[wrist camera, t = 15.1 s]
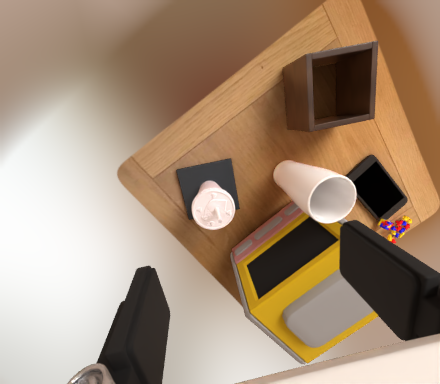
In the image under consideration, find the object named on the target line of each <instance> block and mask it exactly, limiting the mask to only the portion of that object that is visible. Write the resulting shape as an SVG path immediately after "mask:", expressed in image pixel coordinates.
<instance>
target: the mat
mask: <svg viewBox="0 0 440 384" xmlns="http://www.w3.org/2000/svg"><path fill="white" fill-rule="evenodd" d="M176 171H177V175H178V179H179V182H180V186H181V190H182V194H183V198H184V202H185V206H186V209H187V213H188V217H189V220H191V219H194V218H193V215H192V202H193V200H194V198H195V197H196V196H197V194H198V192H199V189H200V186H201V185H202V183H204V182H205V181H214V182H216V183H217V184H218V185H219V186H220V188H221V189H223V190H225V191H226V192H228V193H229V194H230V195H231V197H232V199H233V201H234V204H235V210H237V209H240V208H239V203H238V197H237V191H236V185H235V179H234V173H233V167H232V161H231V158H230V159H225V160H220V161H216V162H211V163H206V164H201V165H196V166H191V167H187V168H182V169H177V170H176Z"/></svg>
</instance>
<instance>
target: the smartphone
mask: <svg viewBox="0 0 440 384" xmlns="http://www.w3.org/2000/svg"><path fill="white" fill-rule="evenodd" d="M346 177H347V178H349V179H350V180H351V181H352V182H353V184H354V185H355V188H356V193H357V196H356V197H357V198H358V199H359V200H360V201H361V203H362V204H363V205H364V206H365V207H366V208H367V209H368V210H369V212H370V213H371V214H372V215H373V216H374V217H375V218H376V219H377V220H378V221H379V222H380V220H381V219H385V220H387V219H388V218H390V217H391V216H392V215H393V214H394V213H396V212H397V211H398V210H399V209H400V208H401V207H403V206H404V205H405V204H406V203H407V200H408V199H407V197H406V196H405V194H404V193H403V192H402V190H401V189H400V188H399V187H398V185H397V184H396V183H395V181H394V180H393V179H392V177H391V176H390V175H389V174H388V172H387V171H386V170H385V168H384V167H383V166H382V164H381V163H380V162H379V161H378V159H377V158H376V157H375V156H374V155H369V156H367V157H366V158H365V159H364V160H363V161H362V162H361V163H360V164H358V165H357V166H356V167H355V168H354V169H353V170H352V171H351V172H350V173H349V174H348V175H347V176H346Z"/></svg>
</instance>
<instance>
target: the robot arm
mask: <svg viewBox="0 0 440 384" xmlns="http://www.w3.org/2000/svg"><path fill="white" fill-rule="evenodd" d="M339 270H340V273H341V275H342V276H343V278H344V279H345V280H346V281H347V282H348V283H349V284H350V285H351V286H352V287H353V289H354V290H355V291H356V292H357V293H358V294H359V295H360V296H361V297H362V298H363V299H364V301H365V302H366V303H367V304H368V305H369V306H370V307H371V308H372V309H373V310H374V311H375V313H376V314H377V315H378V316H379V317H380V318H381V319H382V320H383V321H384V322H385V323H386V324H387V326H388V327H390V329H391V330H392V331H393V332H394V333H395V334H396V335H397V336H398V337H399V338H400V339H401V340H405V342H400V343H397V344H392V345H388V346H384V347H380V348H376V349H372V350H367V351H364V352H359V353H355V354H351V355H347V356H343V357H339V358H335V359H331V360H327V361H323V362H319V363H315V364H311V365H307V366H303V367H299V368H295V369H291V370H287V371H283V372H279V373H275V374H271V375H267V376H263V377H259V378H255V379H252V380H247V381H244V382H240V383H236V384H440V273H438V272H437V271H435V270H434V269H432V268H430V267H429V266H427V265H426V264H424V263H423V262H421V261H419V260H418V259H416V258H415V257H413V256H412V255H410V254H409V253H407V252H405V251H404V250H403V249H401V248H399V247H398V246H396V245H395V244H393V243H392V242H390V241H389V240H387V239H386V238H384V237H382V236H381V235H379V234H378V233H376V232H375V231H373V230H372V229H370V228H368V227H367V226H365V225H364V224H362V223H361V222H359V221H357V220H353V221H348V222H344V223H343V225H342V226H341V227H340V259H339ZM169 320H170V310H169V307H168V304H167V301H166V298H165V295H164V292H163V289H162V287H161V284H160V281H159V278H158V275H157V272H156V270H155V268H151V267H150V266H146V267H141V268H138V269H137V270H136V272H135V275H134V278H133V280H132V283H131V286H130V289H129V291H128V294H127V296H126V299H125V301H123V302H121V304H120V305H119V308H118V310H117V313H116V315H115V318H114V320H113V323H112V326H111V328H110V331H109V333H108V336H107V338H106V341H105V343H104V346H103V348H102V351H101V354H100V356H99V358H98V361H97V364H92V365H89V366H87V367H85V368H84V369H82V370H81V371H79V372H78V373H77V374H76V375H75V376H74V377H73V378H72V379H71V380H70V381H69V382H68V384H162V379H163V370H164V361H165V353H166V345H167V337H168V329H169Z"/></svg>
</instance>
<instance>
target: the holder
mask: <svg viewBox="0 0 440 384" xmlns="http://www.w3.org/2000/svg"><path fill="white" fill-rule="evenodd" d="M377 55H378V41H373V42H368V43H362V44H357V45H352V46H346V47H341V48H336V49H330V50H325V51H320V52H314V53H309V54H305V55H304V56H302V57H300V58H299V59H297V60H295V61H294V62H292V63H290V64H288V65H287V66H285V67H283V79H284V91H285V104H286V117H287V129H288V130H295V131H305V132H312V131H317V130H322V129H327V128H332V127H337V126H341V125H346V124H351V123H356V122H361V121H366V120H371V119H374V116H375V96H376V76H377ZM334 63H336V115H335V116H330V117H325V118H320V119H315V120H314V102H313V76H312V68H313V67H318V66H323V65H328V64H334Z"/></svg>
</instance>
